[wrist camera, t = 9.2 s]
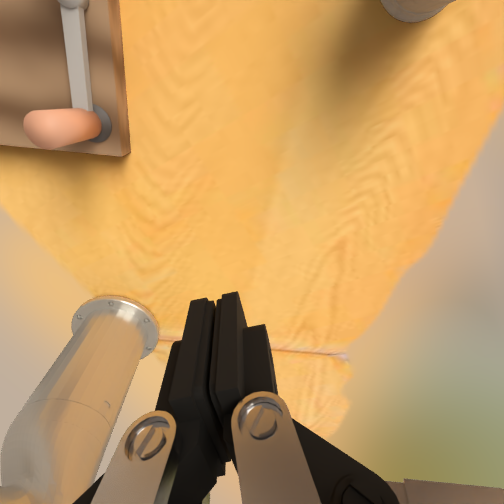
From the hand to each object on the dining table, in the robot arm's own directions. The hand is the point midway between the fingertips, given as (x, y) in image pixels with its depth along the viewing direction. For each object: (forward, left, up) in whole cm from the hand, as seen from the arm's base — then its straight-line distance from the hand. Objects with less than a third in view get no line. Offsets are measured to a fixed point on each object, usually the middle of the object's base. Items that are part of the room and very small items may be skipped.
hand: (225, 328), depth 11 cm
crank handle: (+9, +15, -25) cm, 30 cm away
